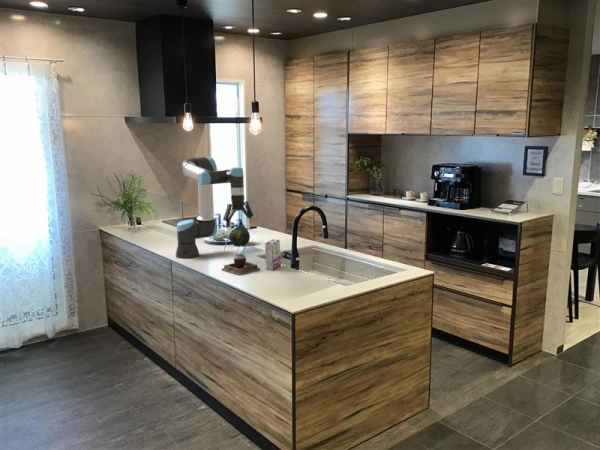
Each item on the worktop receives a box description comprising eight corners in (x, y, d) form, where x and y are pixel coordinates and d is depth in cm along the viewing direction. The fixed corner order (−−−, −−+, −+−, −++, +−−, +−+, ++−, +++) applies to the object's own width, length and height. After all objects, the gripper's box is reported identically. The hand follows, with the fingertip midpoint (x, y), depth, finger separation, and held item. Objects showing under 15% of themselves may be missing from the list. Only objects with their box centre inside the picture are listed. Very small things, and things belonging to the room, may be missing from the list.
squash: (222, 238, 368) (235, 223, 364) (230, 235, 383) (242, 220, 379) (237, 252, 367) (250, 237, 363) (244, 248, 382) (256, 233, 377)
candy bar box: (273, 265, 316) (272, 239, 313) (280, 265, 314) (280, 239, 311) (265, 270, 306) (264, 243, 303) (273, 270, 304) (272, 243, 301)
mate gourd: (232, 268, 307) (230, 243, 304) (242, 265, 312) (241, 241, 309) (239, 270, 301) (238, 245, 298) (250, 268, 307) (249, 243, 304)
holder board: (221, 270, 307) (221, 265, 306) (243, 264, 318) (243, 260, 317) (238, 275, 295) (238, 270, 295) (259, 269, 306) (259, 264, 306)
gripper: (223, 197, 287) (225, 234, 291) (258, 192, 304) (259, 227, 308) (215, 196, 292) (217, 232, 296) (250, 191, 309) (251, 226, 313)
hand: (239, 230), depth 302 cm, fingers open, 13 cm apart
